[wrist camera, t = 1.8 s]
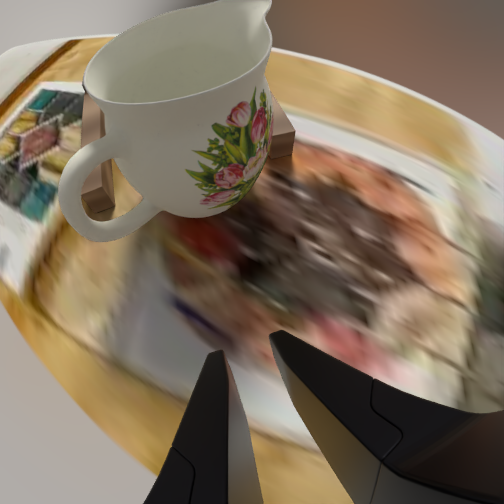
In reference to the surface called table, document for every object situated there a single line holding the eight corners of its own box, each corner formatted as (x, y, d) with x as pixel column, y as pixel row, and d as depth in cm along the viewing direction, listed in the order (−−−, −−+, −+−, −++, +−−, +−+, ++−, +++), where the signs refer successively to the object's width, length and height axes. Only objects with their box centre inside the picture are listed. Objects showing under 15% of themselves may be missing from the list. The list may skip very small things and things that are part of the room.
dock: (291, 154, 27) (296, 122, 23) (95, 213, 25) (74, 188, 21) (236, 59, 33) (235, 33, 29) (94, 100, 31) (83, 76, 27)
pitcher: (81, 233, 24) (-14, 126, 11) (216, 106, 29) (204, -15, 17) (169, 317, 21) (66, 228, 9) (309, 154, 27) (338, 17, 14)
